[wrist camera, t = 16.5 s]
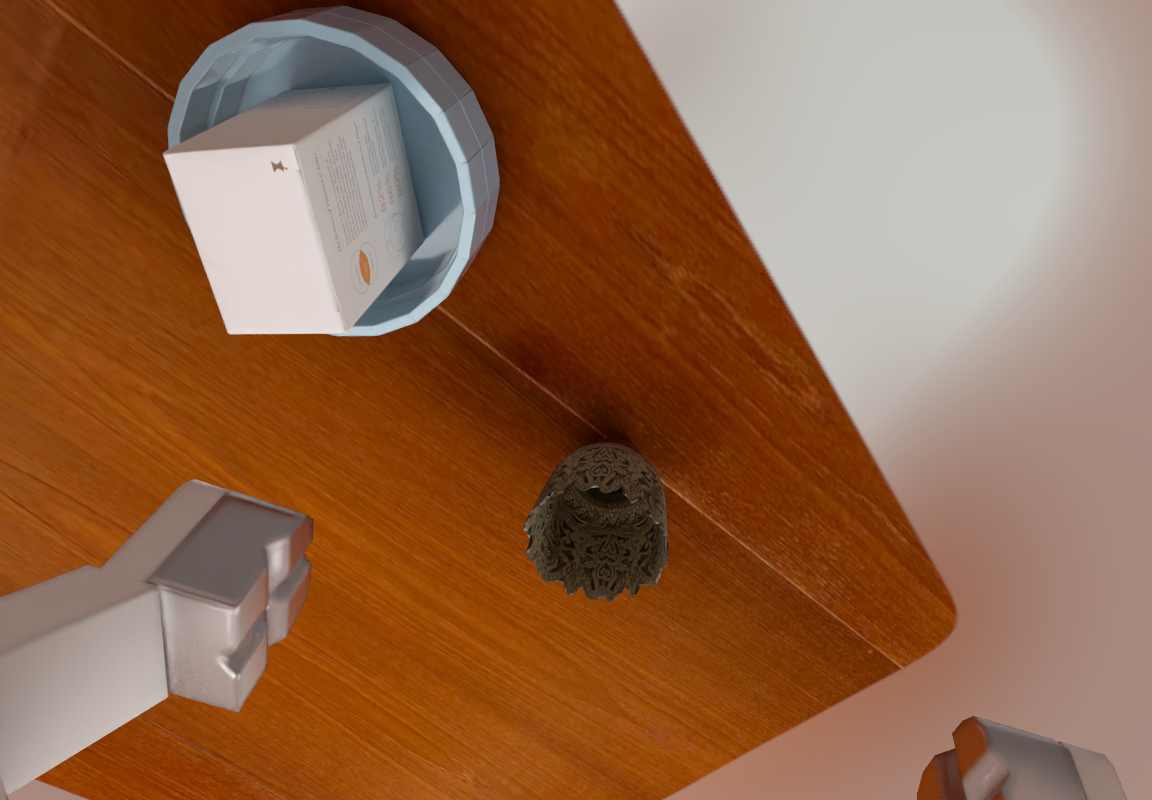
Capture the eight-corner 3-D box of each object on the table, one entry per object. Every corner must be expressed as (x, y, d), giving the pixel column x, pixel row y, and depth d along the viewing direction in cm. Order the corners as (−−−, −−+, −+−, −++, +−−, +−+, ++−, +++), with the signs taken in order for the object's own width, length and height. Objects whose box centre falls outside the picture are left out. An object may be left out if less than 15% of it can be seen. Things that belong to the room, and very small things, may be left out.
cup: (677, 512, 50) (666, 610, 43) (556, 503, 51) (528, 597, 44) (679, 407, 46) (668, 496, 39) (549, 400, 47) (517, 485, 41)
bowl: (526, 52, 38) (498, 73, 33) (477, 325, 45) (451, 369, 41) (223, -31, 38) (158, -21, 34) (227, 254, 46) (175, 291, 42)
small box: (286, 88, 40) (155, 146, 31) (395, 79, 39) (292, 138, 30) (328, 246, 44) (223, 338, 35) (428, 243, 43) (346, 337, 34)
